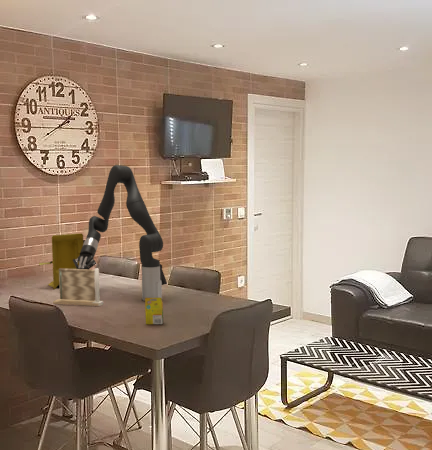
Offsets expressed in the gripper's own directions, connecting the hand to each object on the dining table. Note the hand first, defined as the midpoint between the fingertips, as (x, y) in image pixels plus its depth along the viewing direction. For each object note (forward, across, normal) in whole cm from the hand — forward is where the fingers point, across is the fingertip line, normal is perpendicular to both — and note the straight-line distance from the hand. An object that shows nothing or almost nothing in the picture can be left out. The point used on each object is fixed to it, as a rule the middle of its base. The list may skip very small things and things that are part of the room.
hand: (79, 275), depth 302 cm
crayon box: (+34, +53, -17) cm, 65 cm away
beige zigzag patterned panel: (+14, +3, +1) cm, 14 cm away
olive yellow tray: (-13, -24, +31) cm, 42 cm away
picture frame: (+15, +4, +2) cm, 16 cm away
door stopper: (-23, +26, +40) cm, 53 cm away
